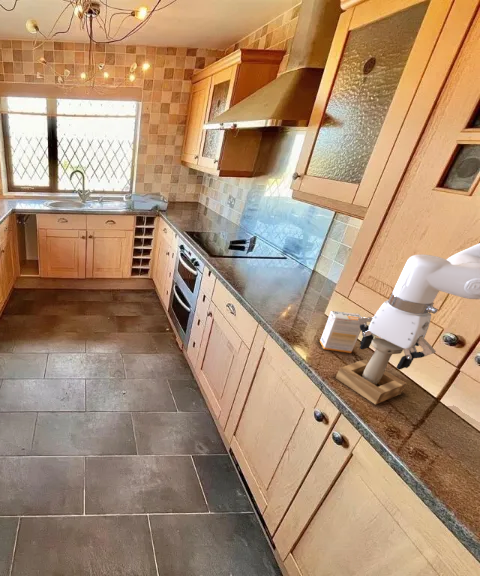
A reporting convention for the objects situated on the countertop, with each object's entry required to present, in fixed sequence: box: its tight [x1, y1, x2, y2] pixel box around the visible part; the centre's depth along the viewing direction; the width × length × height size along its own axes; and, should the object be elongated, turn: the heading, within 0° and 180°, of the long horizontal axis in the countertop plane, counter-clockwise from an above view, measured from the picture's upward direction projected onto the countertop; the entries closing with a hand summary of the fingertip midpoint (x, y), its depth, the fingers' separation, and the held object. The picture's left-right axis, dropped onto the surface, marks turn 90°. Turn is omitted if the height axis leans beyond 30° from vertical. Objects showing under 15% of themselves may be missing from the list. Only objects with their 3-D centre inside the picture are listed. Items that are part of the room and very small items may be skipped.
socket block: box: [335, 359, 408, 405], centre depth 89 cm, size 11×11×4 cm
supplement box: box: [319, 310, 362, 354], centre depth 104 cm, size 8×5×13 cm, turn 72°
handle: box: [361, 337, 404, 386], centre depth 87 cm, size 5×6×15 cm
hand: (381, 357), depth 86 cm, fingers open, 8 cm apart
